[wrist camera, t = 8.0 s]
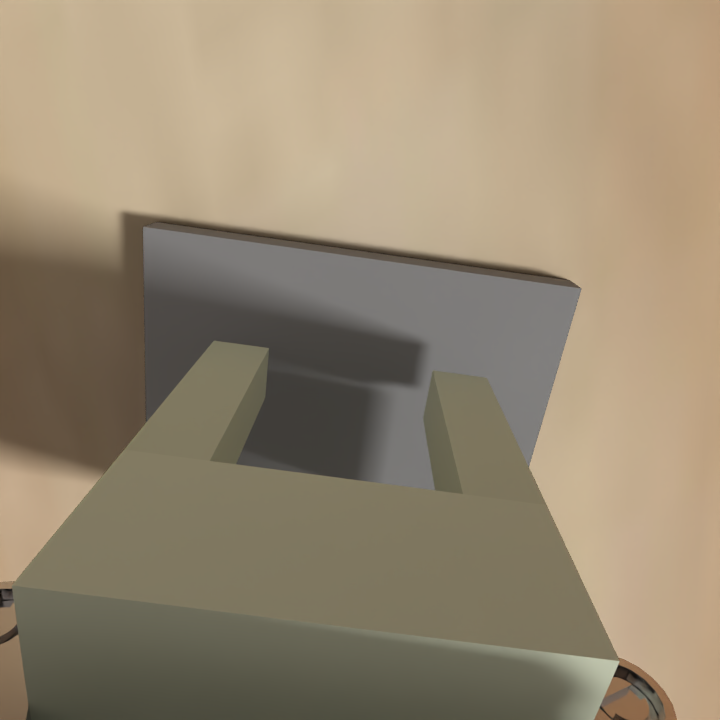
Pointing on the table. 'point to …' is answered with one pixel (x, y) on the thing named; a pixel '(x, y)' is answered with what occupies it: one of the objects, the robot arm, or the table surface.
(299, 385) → the felt pad
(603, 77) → the table surface
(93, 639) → the notched sage block
